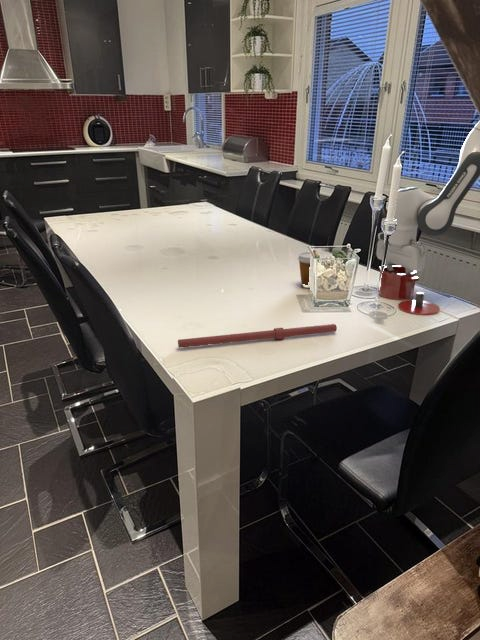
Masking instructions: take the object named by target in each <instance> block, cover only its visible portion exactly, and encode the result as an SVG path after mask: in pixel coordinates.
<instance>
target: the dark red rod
mask: <svg viewBox="0 0 480 640" xmlns="http://www.w3.org/2000/svg"><path fill="white" fill-rule="evenodd" d="M337 329H338V326H337V325H336V324H335V323H329V324H320V325H310V326H300V327H299V326H298V327H289V328H283V327H275V328H273V329H272V330H260V331H251V332H250V331H249V332H241V333H231V334H221V335H212V336H211V335H209V336H202V337H191V338H181V339H178V340H177V346H178V348H179V349H181V348H180V347H184V348H190V347H189V346H194V347H201V346H200V345H203V346H209V345H208V344H213V345H221V344H220V343H222V344H231V343H230V342H232V343H240V342H241V343H242V342H250V341H258V340H259V341H260V340H269V339H274V340H275V339H276V340H284V339H285V338H288V337H297V336H307V335H317V334H326V333H336V332H337Z"/></svg>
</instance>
